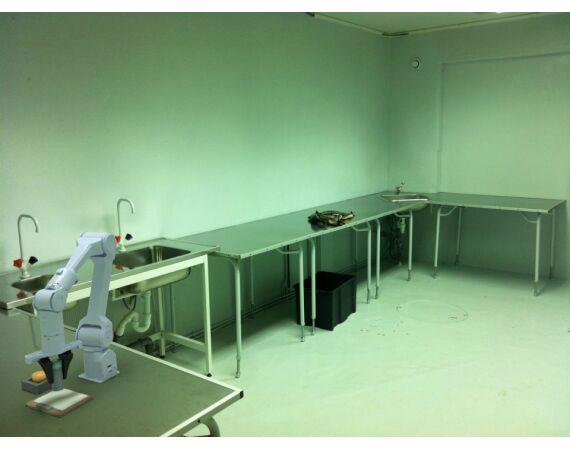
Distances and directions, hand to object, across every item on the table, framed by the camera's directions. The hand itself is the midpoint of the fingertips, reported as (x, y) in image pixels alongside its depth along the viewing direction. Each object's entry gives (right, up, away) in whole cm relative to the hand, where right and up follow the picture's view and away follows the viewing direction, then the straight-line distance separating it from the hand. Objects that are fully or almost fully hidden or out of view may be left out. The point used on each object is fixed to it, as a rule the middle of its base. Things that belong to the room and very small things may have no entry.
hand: (57, 380), depth 142 cm
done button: (-10, -3, +10) cm, 14 cm away
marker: (0, -2, 0) cm, 2 cm away
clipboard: (0, -6, +1) cm, 6 cm away
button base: (-10, -5, +11) cm, 15 cm away
